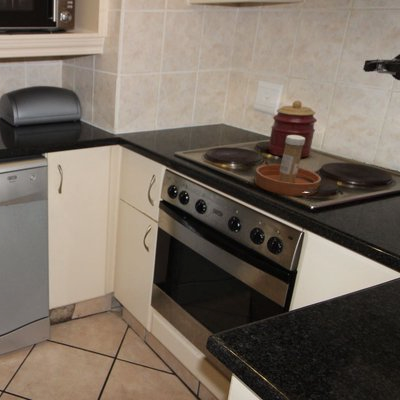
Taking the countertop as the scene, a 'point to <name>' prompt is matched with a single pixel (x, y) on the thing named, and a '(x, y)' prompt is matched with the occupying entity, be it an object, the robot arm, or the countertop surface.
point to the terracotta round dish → (269, 181)
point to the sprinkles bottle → (291, 158)
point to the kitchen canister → (292, 128)
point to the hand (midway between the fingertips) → (384, 69)
